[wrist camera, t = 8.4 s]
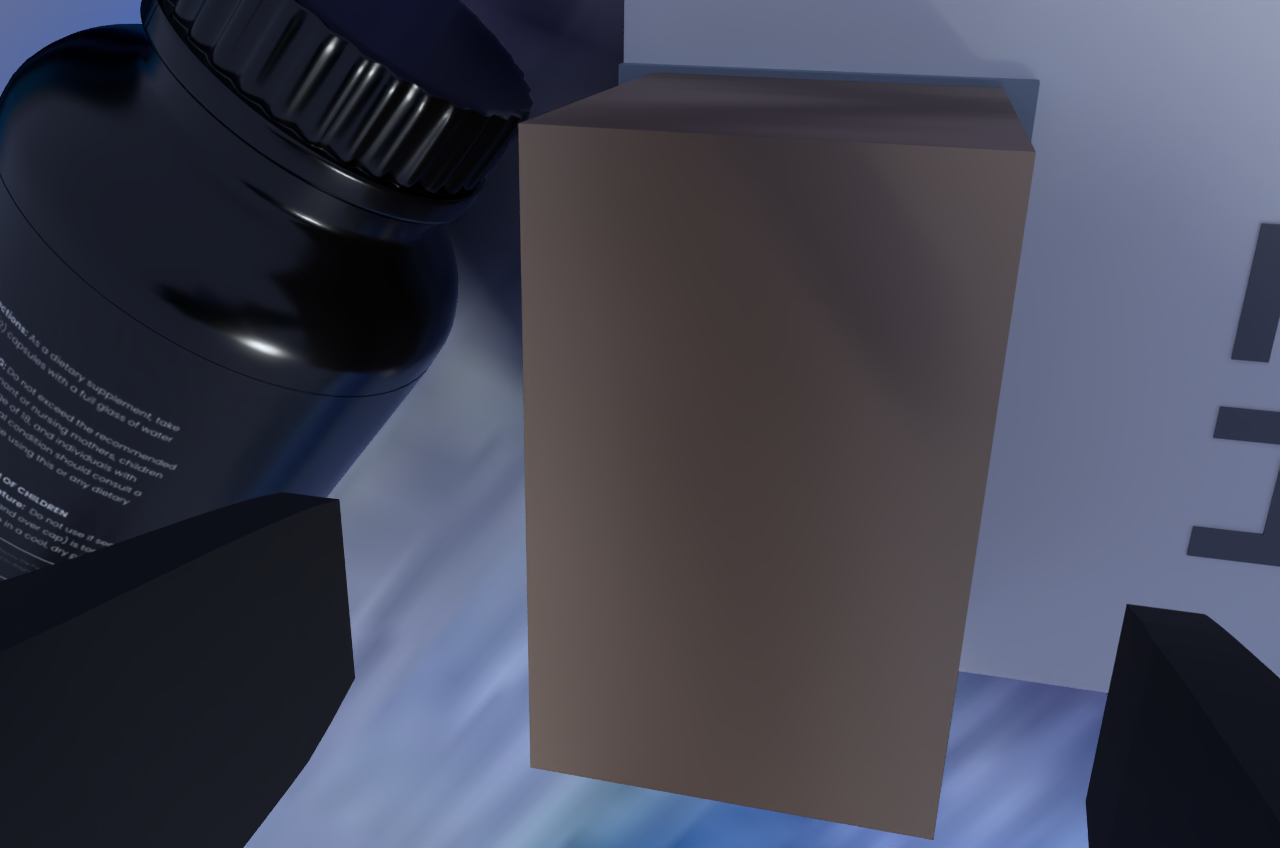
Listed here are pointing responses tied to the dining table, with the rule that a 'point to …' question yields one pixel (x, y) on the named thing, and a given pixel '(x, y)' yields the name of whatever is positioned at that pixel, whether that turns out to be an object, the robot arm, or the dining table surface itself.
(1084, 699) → the dining table surface
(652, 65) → the pad
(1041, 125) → the board
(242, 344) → the supplement bottle
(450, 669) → the dining table surface
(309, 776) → the dining table surface
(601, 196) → the walnut block
